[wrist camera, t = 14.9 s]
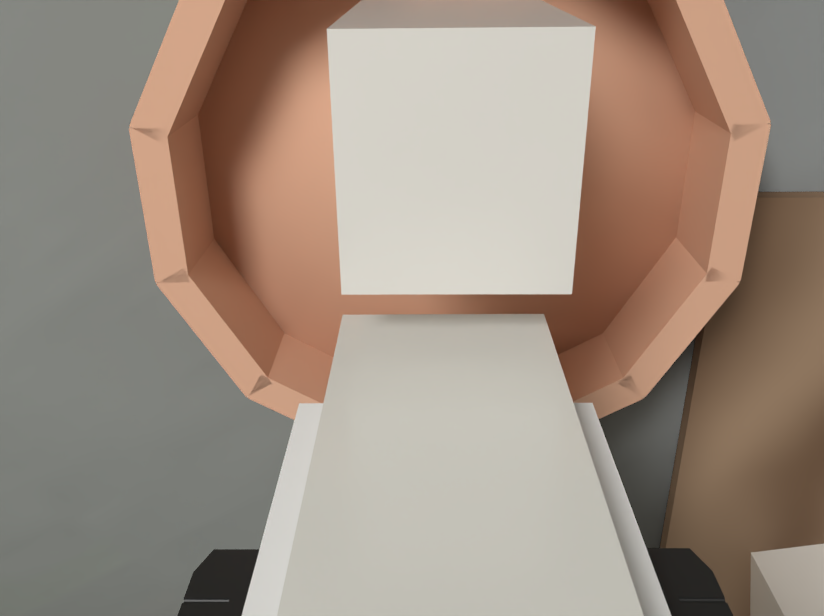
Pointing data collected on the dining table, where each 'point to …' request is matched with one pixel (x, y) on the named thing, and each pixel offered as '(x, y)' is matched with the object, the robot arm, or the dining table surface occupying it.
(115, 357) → the dining table surface
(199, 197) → the bowl
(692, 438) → the board
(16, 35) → the dining table surface
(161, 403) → the dining table surface
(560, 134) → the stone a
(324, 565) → the off-white rectangular block
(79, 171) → the dining table surface
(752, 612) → the off-white square pillar
